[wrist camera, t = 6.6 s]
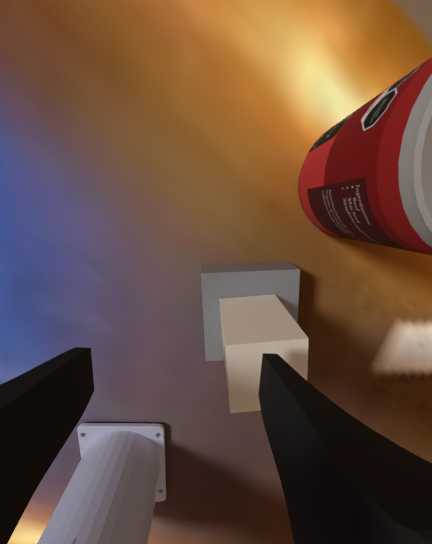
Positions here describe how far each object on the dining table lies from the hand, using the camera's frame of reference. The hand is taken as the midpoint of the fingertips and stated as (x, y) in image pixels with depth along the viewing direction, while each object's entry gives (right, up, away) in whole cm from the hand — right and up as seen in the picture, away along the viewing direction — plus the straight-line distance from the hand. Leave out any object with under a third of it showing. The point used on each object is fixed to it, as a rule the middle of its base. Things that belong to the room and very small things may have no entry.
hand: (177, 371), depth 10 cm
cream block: (+4, +1, +8) cm, 9 cm away
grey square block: (+4, +2, +11) cm, 12 cm away
